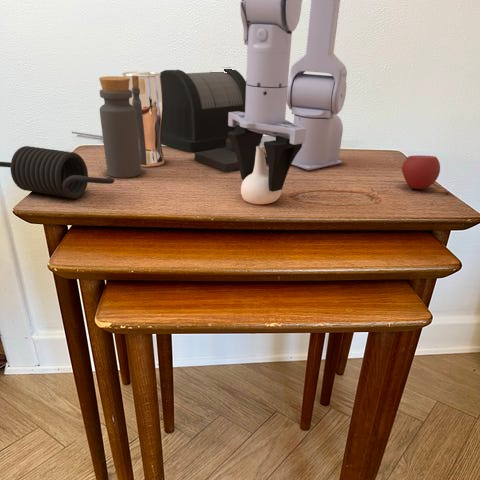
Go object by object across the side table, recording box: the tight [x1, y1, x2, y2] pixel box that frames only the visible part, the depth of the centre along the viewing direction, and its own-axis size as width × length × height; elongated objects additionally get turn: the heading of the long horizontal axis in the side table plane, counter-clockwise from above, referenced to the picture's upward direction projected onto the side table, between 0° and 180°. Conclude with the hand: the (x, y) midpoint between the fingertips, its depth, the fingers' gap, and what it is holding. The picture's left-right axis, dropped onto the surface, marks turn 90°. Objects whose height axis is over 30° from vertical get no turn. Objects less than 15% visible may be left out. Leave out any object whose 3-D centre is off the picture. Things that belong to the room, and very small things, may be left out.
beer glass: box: [121, 71, 165, 168], centre depth 83 cm, size 7×7×15 cm
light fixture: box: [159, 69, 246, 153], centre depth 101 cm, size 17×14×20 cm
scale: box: [194, 138, 268, 173], centre depth 90 cm, size 13×11×3 cm
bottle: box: [98, 75, 142, 179], centre depth 77 cm, size 6×6×15 cm
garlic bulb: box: [240, 145, 283, 205], centre depth 69 cm, size 6×6×8 cm
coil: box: [0, 145, 115, 200], centre depth 69 cm, size 7×20×9 cm
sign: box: [71, 131, 103, 139], centre depth 102 cm, size 5×1×15 cm
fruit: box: [401, 154, 449, 195], centre depth 77 cm, size 6×6×8 cm
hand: (261, 184), depth 70 cm, fingers closed on garlic bulb, 6 cm apart
